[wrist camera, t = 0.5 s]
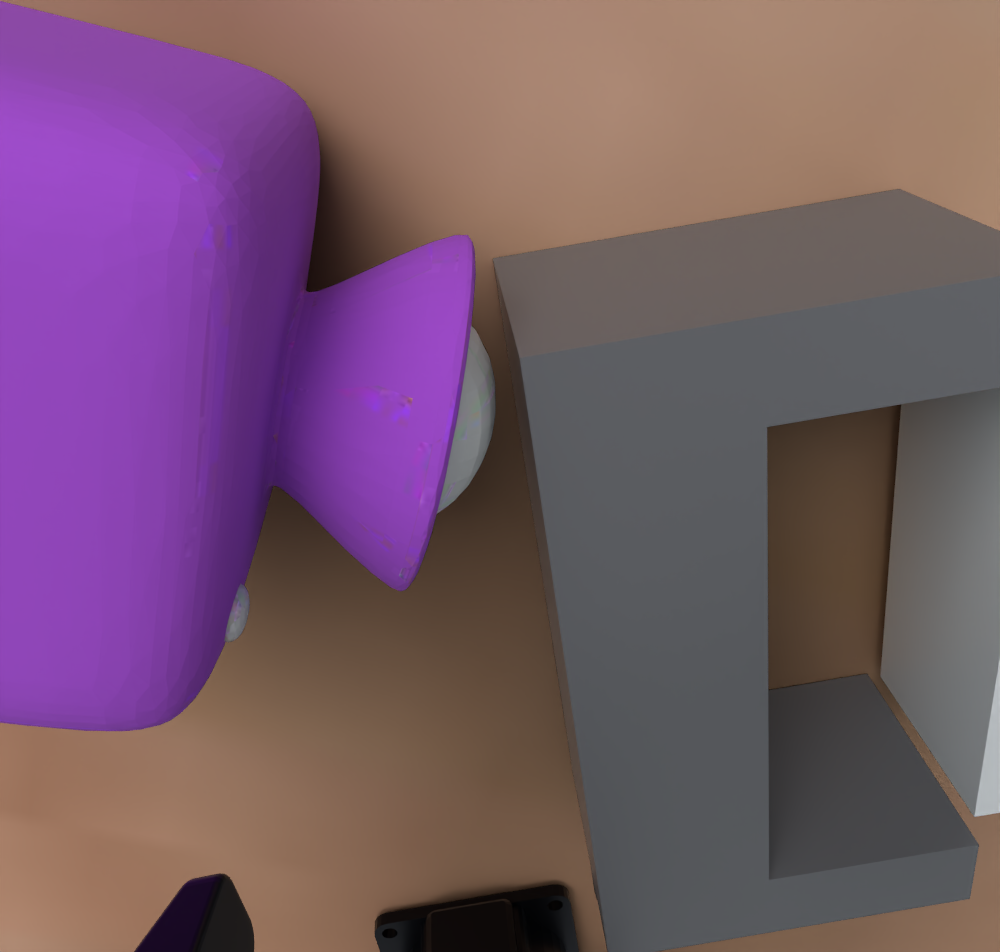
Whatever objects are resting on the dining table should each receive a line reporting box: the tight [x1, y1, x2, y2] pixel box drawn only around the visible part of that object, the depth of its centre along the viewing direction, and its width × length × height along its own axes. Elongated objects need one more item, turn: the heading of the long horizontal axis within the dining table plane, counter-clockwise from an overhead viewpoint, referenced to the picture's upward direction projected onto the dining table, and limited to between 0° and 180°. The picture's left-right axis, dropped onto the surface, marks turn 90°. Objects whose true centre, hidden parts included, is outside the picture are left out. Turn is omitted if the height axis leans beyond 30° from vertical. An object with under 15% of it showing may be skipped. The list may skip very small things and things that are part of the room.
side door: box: [881, 388, 1000, 817], centre depth 21 cm, size 11×1×5 cm, turn 8°
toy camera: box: [0, 1, 496, 731], centre depth 15 cm, size 11×14×10 cm
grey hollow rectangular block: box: [493, 189, 1000, 952], centre depth 21 cm, size 17×9×6 cm, turn 8°
